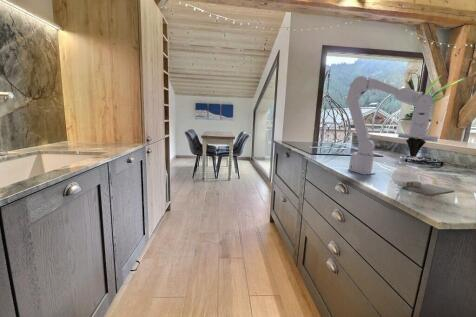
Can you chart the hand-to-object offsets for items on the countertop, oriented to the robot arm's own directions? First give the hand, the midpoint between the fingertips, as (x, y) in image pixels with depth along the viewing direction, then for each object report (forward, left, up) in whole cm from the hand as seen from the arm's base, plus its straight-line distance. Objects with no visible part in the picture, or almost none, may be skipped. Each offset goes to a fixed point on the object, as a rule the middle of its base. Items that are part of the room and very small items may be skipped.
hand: (413, 156), depth 103 cm
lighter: (+4, -8, -10) cm, 13 cm away
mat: (+12, -8, -10) cm, 17 cm away
